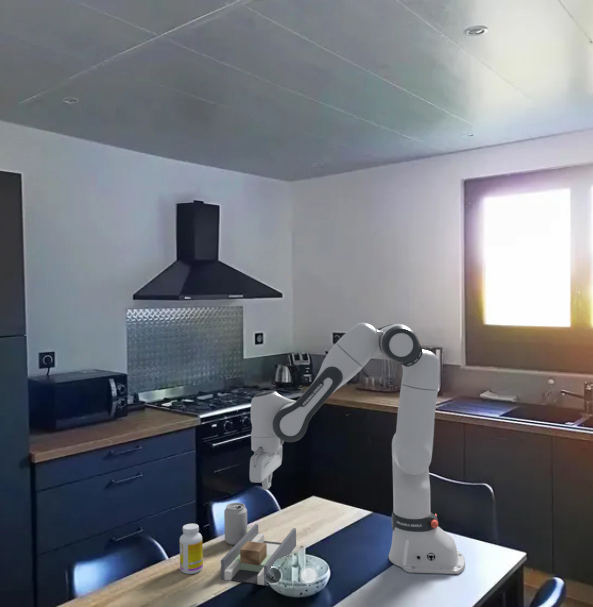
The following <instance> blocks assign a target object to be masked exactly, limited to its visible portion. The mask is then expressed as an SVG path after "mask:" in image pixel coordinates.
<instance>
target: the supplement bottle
mask: <svg viewBox="0 0 593 607" xmlns="http://www.w3.org/2000/svg"><path fill="white" fill-rule="evenodd" d="M199 531H200V527H199V525H198V524H197V523H187V524H184V525H183V526H182V532H183V534H181V535H180V537H179V567H180V568H179V569H180V572H182V573H183V574H187V575H193V574H197V573H199V572H201V571H202V570H203V567H204V564H203V563H204V559H203V558H204V557H203V556H204V554H203V553H204V552H203V551H204V550H203V536H202V534H201V533H200V532H199Z"/></svg>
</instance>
